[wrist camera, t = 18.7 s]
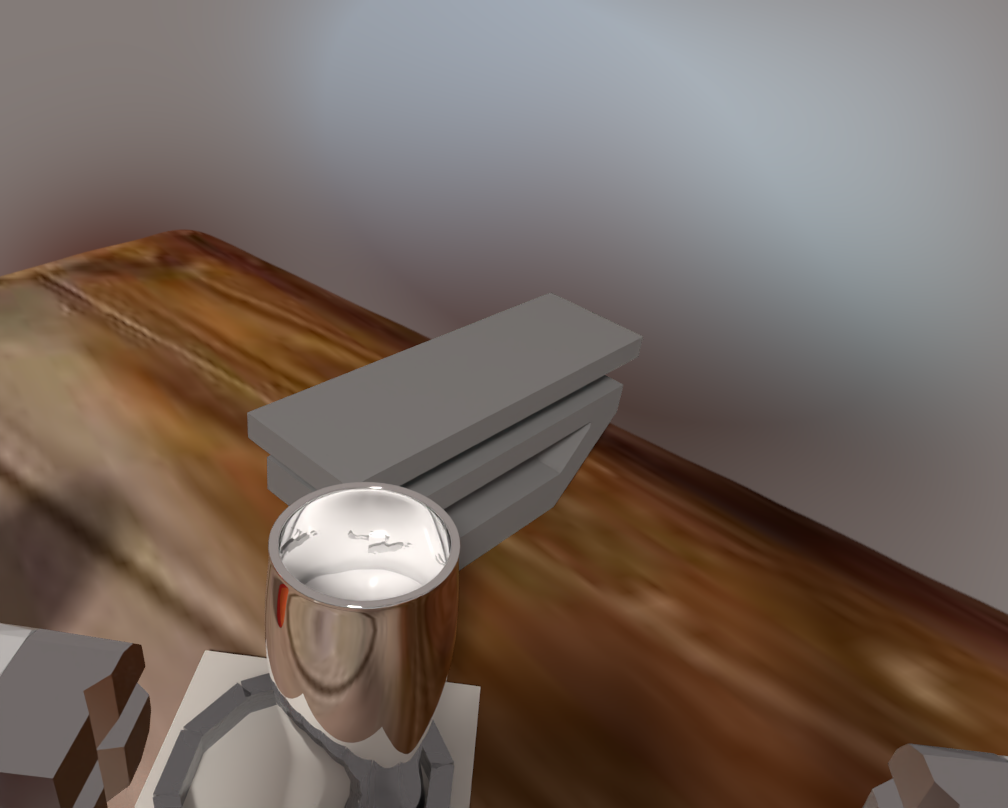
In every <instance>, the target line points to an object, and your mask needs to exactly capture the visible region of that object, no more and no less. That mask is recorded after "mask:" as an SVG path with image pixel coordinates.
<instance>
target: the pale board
mask: <svg viewBox="0 0 1008 808" xmlns="http://www.w3.org/2000/svg"><path fill="white" fill-rule="evenodd" d="M267 673H269V670H268V665H267V658H260V657H252V656H245V655H237V654H230V653H222V652H214V651H207V650H205V652H204V654H203V656H202V659H201V661H200V663H199V665H198V667H197V670H196V672H195V674H194V676H193V678H192V681H191V683H190V685H189V687H188V690H187V692H186V694H185V696H184V698H183V701H182V703H181V705H180V707H179V710H178V712H177V714H176V716H175V718H174V721H173V723H172V725H171V727H170V729H169V732H168V734H167V736H166V738H165V741H164V743H163V745H162V747H161V749H160V752H159V754H158V756H157V758H156V760H155V763H154V765H153V767H152V769H151V772H150V774H149V776H148V778H147V780H146V783H145V785H144V787H143V789H142V792H141V794H140V796H139V798H138V800H137V803H136V805H135V807H134V808H154V804H153V798H152V797H153V793H154V790H155V788H156V786H157V784H158V781H159V779H160V777H161V774H162V772H163V770H164V768H165V765H166V763H167V761H168V758H169V756H170V754H171V752H172V749H173V747H174V745H175V742H176V740H177V738H178V736H179V733H180V731H181V730H184V728H183V727H184V726H185V725H186V724H187V723H189V722H190V721H191V720H192V719H193V718H195V717H196V716H197V715H198V714H200V713H201V712H202V711H203V710H204V709H206V708H207V707H208V706H209V705H211V704H212V703H213V702H214V701H215V700H217V699H218V698H219V697H220V696H222V695H223V694H224V693H225V692H226V691H228V690H229V689H230V688H231V687H233V686H234V685H235V684H236V683H239V684H240V685H241V681H242V680H246V679H249V678H253V677H256V676H260V675H263V674H267ZM480 688H481V687H480V686H472V685H465V684H457V683H450V682H446V684H445V687H444V691H443V694H442V697H441V699H440V702H439V705H438V707H437V710H436V713H435V715H434V718H433V720H434V722H435V724H436V726H437V728H438V730H439V732H440V734H441V736H442V739H443V741H444V743H445V745H446V747H447V749H448V751H449V753H450V755H451V757H452V759H453V761H454V764H453V765H454V774H453V782H452V791H451V800H450V808H469V805H470V795H471V784H472V773H473V763H474V752H475V741H476V731H477V720H478V709H479V699H480ZM420 763H421V762H420ZM290 768H291V750H290V747H289V743H288V739H287V736H286V733H285V730H284V727H283V724H282V720H281V717H280V714H279V710H278V707H277V705H275V706H271V707H268V708H265V709H261V710H258V711H255V712H251V713H249V714H248V715H247V716H246V717H245V718H244V719H243V720H241V721H240V722H239V723H238V724H237V725H236V726H234V727H233V728H232V729H231V730H230V731H229V732H227V733H226V734H225V735H224V736H223V737H222V738H221V739H219V740H218V741H217V742H216V743H215V744H214V745H212V746H211V747H210V748H209V749H208V750H207V751H205V752H204V754H203V756H202V759H201V761H200V764H199V766H198V769H197V771H196V774H195V776H194V779H193V781H192V784H191V786H190V789H189V791H188V794H187V796H186V799H185V801H184V804H183V806H182V808H283V796H284V791H285V786H286V782H287V779H288V775H289V772H290ZM421 770H422V775H423V780H424V787H425V808H426V803H427V796H428V789H429V780H428V778H427V776H426V773H425V771H424V769H423V767H422V765H421Z"/></svg>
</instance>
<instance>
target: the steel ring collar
mask: <svg viewBox="0 0 1008 808" xmlns="http://www.w3.org/2000/svg"><path fill="white" fill-rule="evenodd" d="M275 705H277V704H276V700H275V697H274V693H273V689H272V684H271V679H270V675H269V673H267V674H263V675H260V676H256V677H253V678H249V679H246V680H242V681H241V685H240V684H239V683H236V684H235V685H234V686H233V687H231V688H230V689H229V690H228V691H226V692H225V693H224V694H223V695H222V696H220V697H219V698H218V699H217V700H215V701H214V702H213V703H212V704H211V705H209V706H208V707H207V708H206V709H204V710H203V711H202V712H201V713H200V714H198V715H197V716H196V717H195V718H193V719H192V720H191V721H190V722H189V723H187V724H186V725H185V726H184V727H183V728H184V730H181V731H180V733H179V736H178V738H177V740H176V742H175V745H174V747H173V749H172V752H171V754H170V756H169V758H168V761H167V763H166V765H165V768H164V770H163V772H162V774H161V777H160V779H159V781H158V784H157V786H156V788H155V790H154V793H153V797H152V798H153V804H154V808H182V806H183V804H184V801H185V799H186V796H187V794H188V791H189V789H190V786H191V784H192V781H193V779H194V776H195V774H196V771H197V769H198V766H199V764H200V761H201V759H202V756H203V754H204V752H205V751H207V750H208V749H209V748H210V747H211V746H212V745H214V744H215V743H216V742H217V741H218V740H219V739H221V738H222V737H223V736H224V735H225V734H226V733H227V732H229V731H230V730H231V729H232V728H233V727H234V726H236V725H237V724H238V723H239V722H240V721H241V720H243V719H244V718H245V717H246V716H247V715H248V714H249V713H251V712H255V711H258V710H261V709H265V708H268V707H271V706H275ZM420 762H421V765H422V767H423V769H424V771H425V773H426V776H427V778H428V780H429V789H428V796H427V803H426V808H450V800H451V791H452V782H453V774H454V765H453V764H454V761H453V759H452V757H451V755H450V753H449V751H448V749H447V747H446V745H445V743H444V741H443V739H442V736H441V734H440V732H439V730H438V728H437V726H436V724H435V722H434V720H432V723H431V726H430V728H429V731H428V733H427V736H426V738H425V741H424V744H423V747H422V751H421V757H420Z"/></svg>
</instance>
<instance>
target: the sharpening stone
mask: <svg viewBox="0 0 1008 808" xmlns="http://www.w3.org/2000/svg"><path fill="white" fill-rule="evenodd" d="M642 339H643V336H641V335H639V334H637V333H635V332H632V331H630V330H628V329H626V328H624V327H622V326H620V325H618V324H616V323H613V322H612V321H609V320H607V319H605V318H603V317H601V316H599V315H597V314H595V313H593V312H591V311H588V310H586V309H584V308H582V307H580V306H578V305H576V304H574V303H572V302H570V301H568V300H565V299H563V298H561V297H559V296H557V295H555V294H553V293H548V294H546V295H543V296H541V297H538V298H536V299H533V300H531V301H528V302H526V303H523V304H521V305H518V306H516V307H513V308H511V309H508V310H506V311H503V312H500V313H498V314H495V315H493V316H490V317H488V318H485V319H483V320H480V321H478V322H475V323H473V324H470V325H468V326H465V327H463V328H460V329H457V330H455V331H453V332H450V333H448V334H445V335H442V336H440V337H437V338H435V339H432V340H430V341H427V342H425V343H422V344H420V345H417V346H415V347H412V348H409V349H407V350H404V351H402V352H399V353H397V354H394V355H392V356H389V357H387V358H384V359H382V360H379V361H377V362H374V363H372V364H369V365H367V366H364V367H361V368H359V369H356V370H354V371H351V372H349V373H346V374H344V375H341V376H339V377H336V378H334V379H331V380H329V381H326V382H324V383H321V384H319V385H316V386H314V387H311V388H308V389H306V390H303V391H301V392H298V393H296V394H293V395H291V396H288V397H286V398H283V399H281V400H278V401H276V402H273V403H271V404H268V405H266V406H263V407H260V408H258V409H255V410H253V411H250V412H248V413H247V414H248V438H250V439H251V440H252V441H254V442H255V443H256V444H257V445H259V446H260V447H261V448H263V449H264V450H265V451H267V452H268V453H269V454H271V456H268V457H267V476H268V489H269V490H270V491H271V492H273V493H274V494H275V495H276V496H278V497H279V498H280V499H281V500H283V501H284V502H285V503H286V504H288V505H289V506H290V505H291V504H292V503H294V502H295V501H297V500H298V499H300V498H301V497H303V496H305V495H307V494H309V493H311V492H314V491H316V490H319V489H322V488H325V487H329V486H333V485H337V484H343V483H352V482H377V483H386V484H392V485H396V486H400V487H404V488H407V489H410V490H413V491H415V492H418V493H420V494H422V495H424V496H426V497H428V498H429V499H431V500H432V501H434V502H435V503H437V504H438V505H439V506H440V507H442V508H443V509H444V510H445V511H446V512H447V514H448V515H449V516H450V517H451V519H452V520H453V522H454V523H455V525H456V527H457V530H458V533H459V536H460V543H461V548H460V555H459V570H461V569H462V568H464V567H465V566H467V565H468V564H470V563H471V562H472V561H474V560H475V559H477V558H478V557H480V556H481V555H483V554H484V553H486V552H487V551H489V550H490V549H492V548H493V547H495V546H496V545H498V544H499V543H501V542H502V541H503V540H505V539H506V538H508V537H509V536H511V535H512V534H514V533H515V532H517V531H518V530H520V529H521V528H523V527H524V526H526V525H527V524H529V523H530V522H532V521H533V520H535V519H536V518H537V517H539V516H540V515H542V514H543V513H545V512H546V511H548V510H549V509H551V508H552V507H554V505H555V504H556V502H557V501H558V499H559V498H560V496H561V495H562V493H563V492H564V490H565V489H566V487H567V486H568V484H569V483H570V481H571V480H572V478H573V477H574V475H575V474H576V472H577V471H578V469H579V468H580V466H581V465H582V463H583V462H584V460H585V459H586V457H587V456H588V454H589V453H590V451H591V450H592V448H593V447H594V445H595V444H596V442H597V441H598V439H599V438H600V436H601V435H602V433H603V432H604V430H605V429H606V427H607V426H608V424H609V422H610V421H611V419H612V418H613V416H614V415H615V413H616V412H617V409H618V405H619V401H620V396H621V392H622V388H623V384H621V383H619V382H617V381H615V380H613V379H612V378H610V377H608V376H606V375H605V374H607V373H609V372H611V371H613V370H615V369H616V368H618V367H620V366H622V365H624V364H626V363H627V362H629V361H631V360H633V359H635V358H637V357H638V355H639V351H640V347H641V343H642Z"/></svg>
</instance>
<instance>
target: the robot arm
mask: <svg viewBox="0 0 1008 808" xmlns="http://www.w3.org/2000/svg"><path fill="white" fill-rule="evenodd" d="M144 668H145V662H144V656H143V651H142V646H141V645H139V644H134V643H128V642H121V641H115V640H109V639H103V638H96V637H90V636H84V635H77V634H71V633H65V632H59V631H52V630H46V629H39V628H32V627H25V626H18V625H11V624H4V623H0V808H108V807H107V802H108V801H109V800H110V799H112V798H113V797H114V796H116V795H117V794H118V793H120V792H121V791H122V790H124V789H125V788H126V787H128V786H129V785H130V783H131V781H132V779H133V777H134V774H135V772H136V770H137V768H138V765H139V763H140V761H141V759H142V755H143V751H144V748H145V744H146V740H147V737H148V733H149V728H150V715H151V706H150V698H149V694H148V693H147V692H146V691H145V690H144V689H143V688H142V687H141V686H140V685H139V684H138V683H137V682H138V680H139V678H140V676H141V674H142V672H143V670H144ZM888 765H889V768H890V771H891V774H892V776H893V779H891V780H889V781H887V782H885V783H883V784H881V785H879V786H877V787H875V788H873V789H872V791H871V793H870V795H869V797H868V799H867V800H866V802H865V804H864V806H863V808H1008V756H998V755H996V754H993V753H985V752H976V751H968V750H959V749H951V748H942V747H933V746H925V745H916V744H906V745H904V746H902V747H900V748H898V749H897V750H896V752H895V753H894V755H893V756H892V758H891V759H890V761H889V763H888Z"/></svg>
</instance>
